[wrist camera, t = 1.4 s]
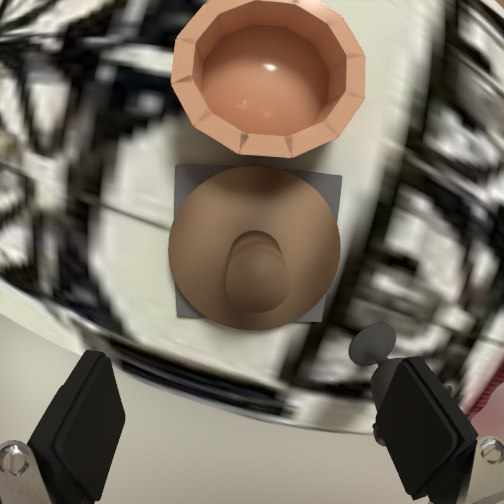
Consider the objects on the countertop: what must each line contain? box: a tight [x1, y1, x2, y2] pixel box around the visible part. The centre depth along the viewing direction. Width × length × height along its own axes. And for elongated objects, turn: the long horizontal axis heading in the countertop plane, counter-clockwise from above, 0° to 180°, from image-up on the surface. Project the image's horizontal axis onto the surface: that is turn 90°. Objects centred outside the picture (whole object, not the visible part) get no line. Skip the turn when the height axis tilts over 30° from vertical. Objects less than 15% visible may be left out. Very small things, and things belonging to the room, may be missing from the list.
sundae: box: [349, 324, 454, 446], centre depth 19 cm, size 7×7×15 cm
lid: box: [168, 166, 340, 330], centre depth 20 cm, size 12×12×6 cm
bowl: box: [171, 0, 365, 158], centre depth 17 cm, size 11×11×5 cm
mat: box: [174, 165, 342, 322], centre depth 23 cm, size 12×12×1 cm
